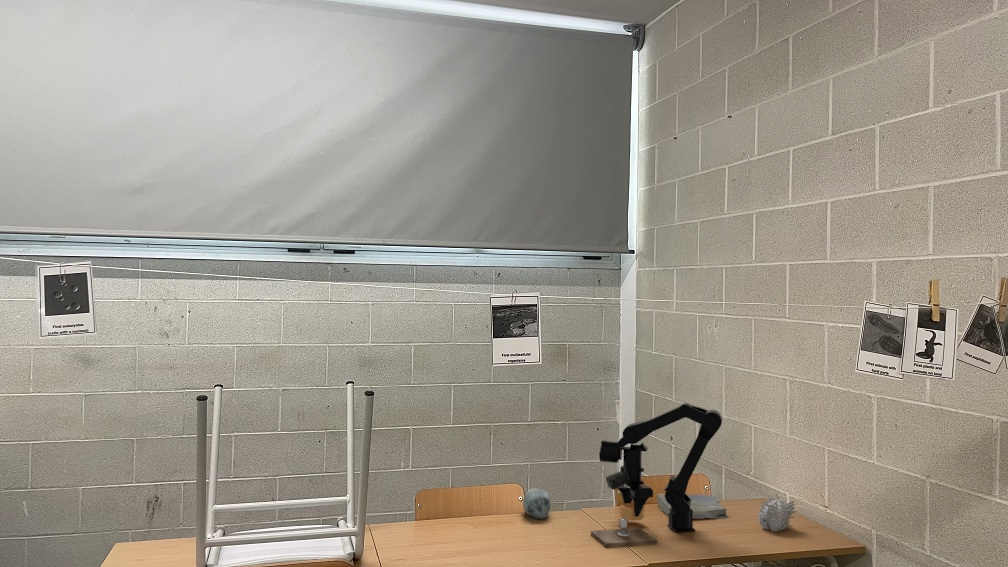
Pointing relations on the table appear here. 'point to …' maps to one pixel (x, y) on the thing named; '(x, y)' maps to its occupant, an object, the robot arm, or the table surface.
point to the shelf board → (623, 538)
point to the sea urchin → (775, 514)
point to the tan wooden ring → (630, 512)
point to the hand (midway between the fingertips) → (631, 513)
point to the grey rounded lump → (537, 503)
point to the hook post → (623, 528)
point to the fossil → (697, 506)
